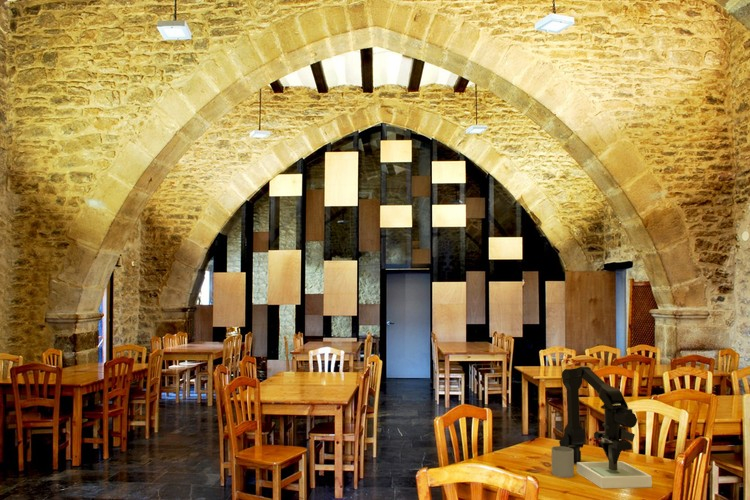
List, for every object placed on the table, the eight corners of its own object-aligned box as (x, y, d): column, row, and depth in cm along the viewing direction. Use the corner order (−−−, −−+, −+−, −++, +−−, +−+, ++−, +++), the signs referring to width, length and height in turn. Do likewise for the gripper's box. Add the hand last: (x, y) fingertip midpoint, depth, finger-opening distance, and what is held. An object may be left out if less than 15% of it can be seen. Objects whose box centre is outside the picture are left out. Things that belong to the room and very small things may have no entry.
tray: (601, 488, 222) (601, 477, 222) (576, 472, 242) (576, 462, 242) (651, 487, 224) (651, 476, 225) (622, 471, 244) (622, 461, 244)
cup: (573, 472, 241) (573, 447, 242) (573, 478, 233) (573, 452, 234) (552, 470, 244) (552, 445, 245) (551, 476, 236) (551, 450, 237)
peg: (611, 470, 232) (611, 446, 232) (607, 468, 235) (606, 444, 235) (619, 470, 232) (618, 446, 233) (614, 467, 235) (614, 444, 236)
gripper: (645, 427, 226) (645, 469, 225) (618, 417, 245) (619, 455, 244) (617, 427, 225) (618, 469, 224) (593, 417, 243) (593, 456, 242)
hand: (612, 462), depth 233 cm, fingers closed on peg, 3 cm apart
